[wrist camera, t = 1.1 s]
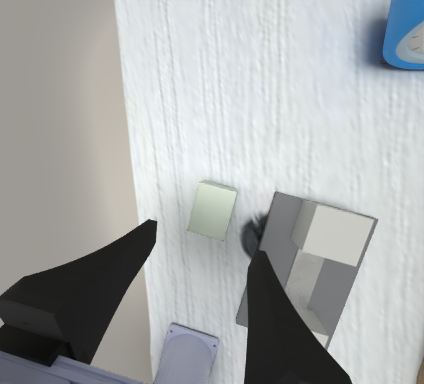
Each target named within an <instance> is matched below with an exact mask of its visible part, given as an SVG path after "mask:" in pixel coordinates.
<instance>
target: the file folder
mask: <svg viewBox="0 0 424 384" xmlns="http://www.w3.org/2000/svg"><path fill="white" fill-rule="evenodd" d="M416 384H424V359H423V362H422V365H421V367H420V370H419V373H418V376H417V383H416Z"/></svg>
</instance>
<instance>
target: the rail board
mask: <svg viewBox="0 0 424 384" xmlns="http://www.w3.org/2000/svg"><path fill="white" fill-rule="evenodd" d="M304 200H305V199H304ZM307 201H309V200H307ZM302 202H303V199H301V198H297V197H294V196H290V195H286V194H282V193H278V192H275V194H274V197H273V200H272V204H271V207H270V210H269V213H268V217H267V220H266V223H265V226H264V230H263V233H262V236H261V239H260V243H259V246H258V249H259V250H262V251H266V253H267V256H268V258H269V260H270V262H271V265H272V267H273V269H274V271H275V273H276V275H277V277H278V279H279V281H280V283H281V285H282V287H283V289H284V291H285V293H286V294H287V296H288V298H289V300H290V301H291V303H292V304H293V306H294V307H297V308H300V309H303V310H306V309H309V310H312V311H314V312H315V314H316V316H317V317H318V319H319V321H320V322H321V324H322V326H323V327H324V329H325V331H326V333H327V334H328V336H329V338H328V340H327V343H326V345H325V349H326V350H327V349H328V347H329V344H330V341H331V339H332V336H333V334H334V331H335V329H336V326H337V324H338V321H339V319H340V316H341V313H342V311H343V308H344V306H345V303H346V301H347V298H348V296H349V293H350V291H351V288H352V285H353V283H354V280H355V278H356V275H357V273H358V270H359V268H360V265H361V263H362V260H363V257H364V255H365V252H366V250H367V247H368V245H369V242H370V240H371V237H372V235H373V232H374V229H375V227H376V224H377V222H378V219H376V218H373V217H369V216H365V215H362V214H358V213H355V214H358V215H361V216H364V217H367V218H370V219H373V220H374V222H373V225H372V227H371V230H370V232H369V235H368V238H367V240H366V243H365V245H364V248H363V250H362V253H361V255H360V258H359V261H358V263H357V266H356V267H355V266H352V265H348V264H345V263H341V262H338V261H334V260H331V259H327V258H324V257H320V256H317V255H313V254H310V253H306V252H303V251H301V250H300V249H299V247H298V246H297V245H296V244H295V243H294V242H293V241H292V240H291V236H292V233H293V230H294V227H295V224H296V221H297V218H298V215H299V212H300V209H301V205H302ZM311 202H312V201H311ZM314 203H316V202H314ZM318 204H320V203H318ZM322 205H324V204H322ZM326 206H328V205H326ZM330 207H331V206H330ZM334 208H335V207H334ZM337 209H339V208H337ZM341 210H343V209H341ZM345 211H346V210H345ZM349 212H350V211H349ZM352 213H354V212H352ZM236 324H239V325H242V326H245V327H248V304H247V285H246V288H245V291H244V294H243V298H242V301H241V304H240V307H239V311H238V314H237V317H236Z"/></svg>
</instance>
